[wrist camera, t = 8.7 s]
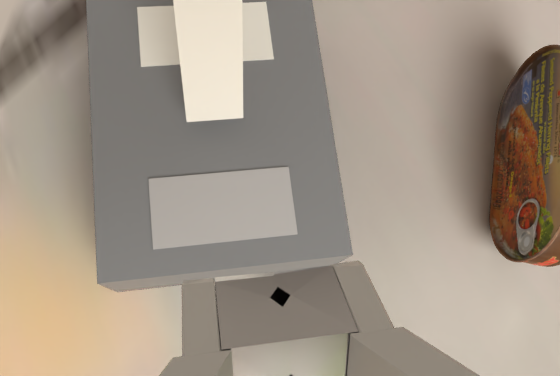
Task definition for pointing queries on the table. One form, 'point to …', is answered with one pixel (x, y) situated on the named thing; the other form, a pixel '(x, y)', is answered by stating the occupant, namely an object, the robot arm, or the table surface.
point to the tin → (529, 164)
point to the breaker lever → (211, 58)
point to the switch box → (210, 152)
